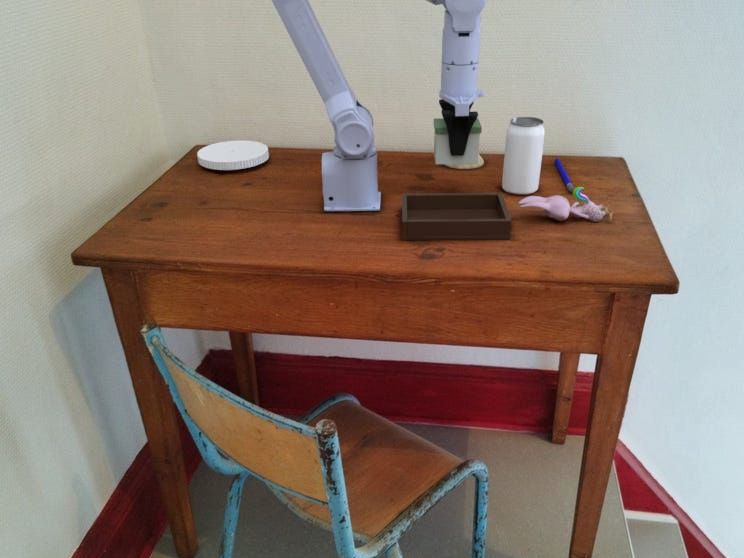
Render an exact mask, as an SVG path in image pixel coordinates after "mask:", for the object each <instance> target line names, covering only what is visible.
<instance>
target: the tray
mask: <svg viewBox="0 0 744 558" xmlns="http://www.w3.org/2000/svg"><path fill="white" fill-rule="evenodd" d="M511 231H512V217H511V214H510V212H509V209H508V206H507V203H506V201H505V198H504V195H503V193H502V192H453V193H452V192H450V193H449V192H448V193H447V192H446V193H443V192H440V193H439V192H438V193H437V192H436V193H433V192H432V193H401V240H402V241H465V240H466V241H468V240H470V241H471V240H474V241H475V240H476V241H477V240H487V241H488V240H511Z"/></svg>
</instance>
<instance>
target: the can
mask: <svg viewBox="0 0 744 558" xmlns="http://www.w3.org/2000/svg"><path fill="white" fill-rule="evenodd" d="M545 129H546V128H545V127H544V120H543V119H541V118H540V117H534V116H517V117H513V118H511V119H510V120H509V125H508V127H507V129H506V133H505V145H504V154H503V155H504V157H503V167H502V179H501V188H502V190H503V191H504V192H506V193H508V194H510V195H515V196H528V195H533V194H535V193H536V192H537V191H538V190H539V185H540V176H541V169H542V160H543V152H544V143H545V135H546V130H545Z"/></svg>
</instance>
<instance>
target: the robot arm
mask: <svg viewBox="0 0 744 558" xmlns="http://www.w3.org/2000/svg"><path fill="white" fill-rule="evenodd" d="M425 1H426V2H428V3H430V4H432V5H434V6H440V5H442V6H443V7H444V19H443V28H442V35H441V36H442V38H441V39H442V40H441V69H440V70H441V71H440V90H439V91H438V96H439V99H438V104H439V106H440V108H441V116H442V118H444V121H445V123H446V126H447V131H448V138H449V148H450V153H451V156H464V153H465V150H466V146H467V142H468V138H469V134H470V131H471V129H472V126H473V124H474V122H475V121H476V119H477V118H479V113H478V111H471V109H472V107H473V105H474V102H475V101H476V100H477V99H478V98H484V97H485V91H484V90H483V89H478V80H479V79H478V77H479V64H480V63H479V62H480V61H479V60H480V48H481V47H480V45H481V31H482V30H481V20H482V16H481V13H482V11H483V10H484V9H485V7H486V3H487V0H425ZM271 2H272V4H273V6H274V8H275V10H276V12H277V14H278V15H279V17H280V20H281V21H282V23H283V26H284V27H285V29H286V31H287V33H288V35H289V38H290V39H291V41H292V43H293V45H294V47H295V49H296V51H297V53H298V55H299V56H300V59H301V60H302V62H303V64H304V67H305V68H306V70H307V72H308V74H309V76H310V78H311V81H312V82H313V85H314V86H315V88H316V90H317V92H318V94H319V96H320V98H321V99H322V101H323V104H324V106H325V110H326V113H327V116H328V119H329V122H330V123H331V125H332V127H333V132H334V137H333V138H334V144H335V146H334V147H333V151H327V152H322V155H321V181H322V191H321V192H322V196H323V211H324V212H379V211H381V201H382V200H381V197H382V193H381V191H379V179H378V175H379V174H378V147H377V146H375V144H374V143H375V133H374V117H373V114H372V113H371V111H370V109H368V108H367V107H366V106H365V105H363V104H362V103H361V102H360V101H359V99H358V97H357V95H356V93H355V92H354V90H353V89H352V87H351V85H350V84H349V82H348V79H347V78H346V76H345V74H344V72H343V69H342V68H341V66H340V64H339V62H338V60H337V58H336V56H335V53H334V51H333V49H332V47H331V45H330V43H329V40H328V39H327V37H326V35H325V32H324V30H323V28H322V26H321V24H320V22H319V20H318V18H317V16H316V14H315V11H314V10H313V8H312V6H311V4H310V1H309V0H271ZM469 111H470V112H469Z"/></svg>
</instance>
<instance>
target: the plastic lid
mask: <svg viewBox="0 0 744 558" xmlns="http://www.w3.org/2000/svg"><path fill="white" fill-rule="evenodd" d="M196 157H197V162H198V164H199V165H200V166H201V167H203V168H205V169H210V170H214V171H215V170H217V171H218V170H219V171H236V170H241V169H242V170H243V169H247V168H248V169H249V168H252V167H256V166H258V165H259V166H260V165H262V164H264V163H265V162H267V161H268V160H269V158H270V153H269V147H268V146H267V145H266V144H265V143H263V142H259V141H254V140H243V139H242V140H241V139H240V140H238V139H237V140H227V141H219V142H215V143H212V144H208V145H206V146H203V147H201V148H200V149H199V150H198V151H197V152H196Z"/></svg>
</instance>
